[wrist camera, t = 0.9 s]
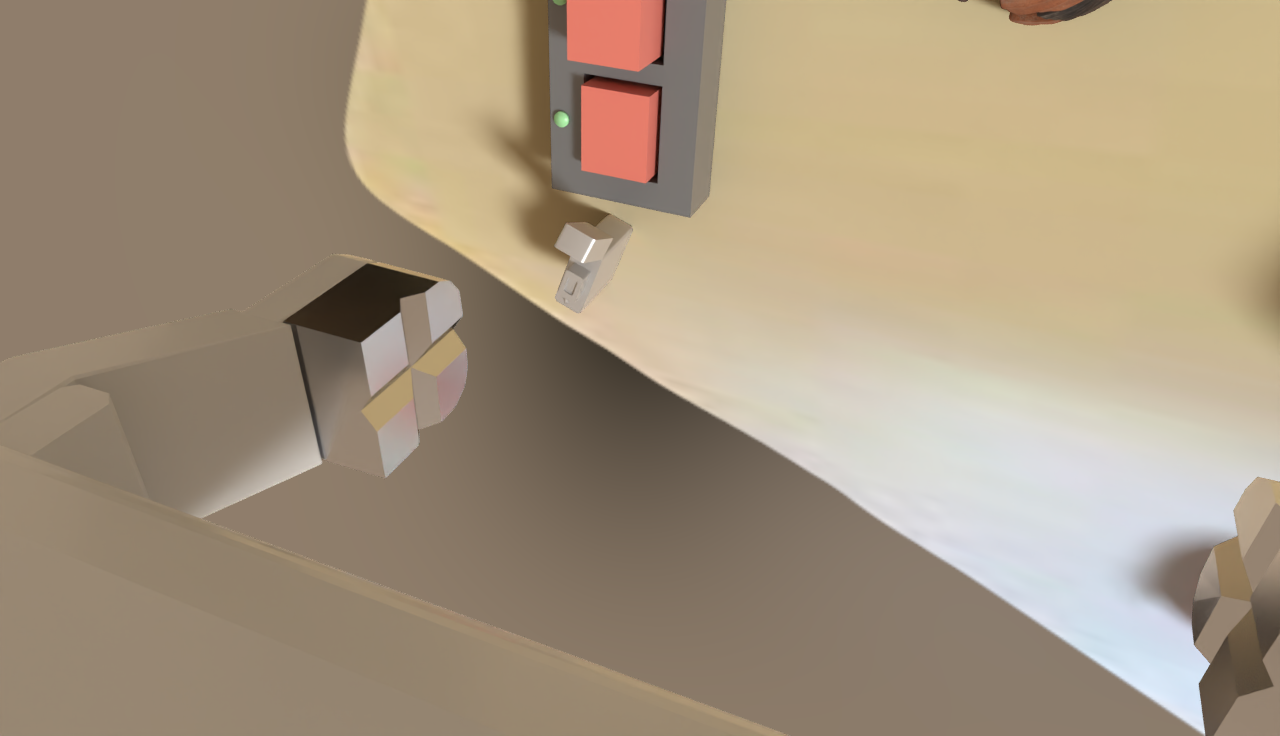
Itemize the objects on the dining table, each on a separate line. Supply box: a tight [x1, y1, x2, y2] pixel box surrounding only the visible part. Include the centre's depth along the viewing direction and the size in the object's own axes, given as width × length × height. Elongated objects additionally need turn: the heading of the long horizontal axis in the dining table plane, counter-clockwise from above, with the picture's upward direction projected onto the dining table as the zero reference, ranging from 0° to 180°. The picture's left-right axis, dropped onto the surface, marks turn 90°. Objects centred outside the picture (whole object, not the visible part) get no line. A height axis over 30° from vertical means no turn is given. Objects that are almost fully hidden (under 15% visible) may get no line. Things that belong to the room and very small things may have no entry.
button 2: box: [567, 0, 665, 72], centre depth 41 cm, size 4×4×3 cm
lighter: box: [554, 214, 633, 313], centre depth 49 cm, size 7×2×8 cm, turn 158°
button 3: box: [581, 76, 662, 183], centre depth 46 cm, size 4×4×3 cm
